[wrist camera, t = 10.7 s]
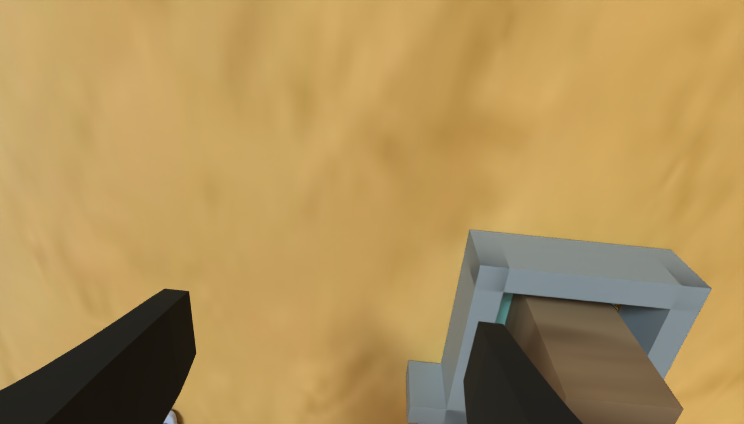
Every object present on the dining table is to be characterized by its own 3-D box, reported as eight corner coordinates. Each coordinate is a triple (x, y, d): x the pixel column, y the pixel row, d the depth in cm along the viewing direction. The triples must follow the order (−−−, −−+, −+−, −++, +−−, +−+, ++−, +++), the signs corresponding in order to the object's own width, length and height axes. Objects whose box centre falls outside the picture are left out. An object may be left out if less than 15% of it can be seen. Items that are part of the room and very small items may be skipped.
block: (576, 349, 23) (642, 481, 17) (499, 341, 23) (537, 470, 17) (600, 286, 22) (683, 409, 15) (517, 278, 22) (566, 397, 15)
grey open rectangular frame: (563, 486, 29) (580, 536, 26) (390, 468, 29) (389, 517, 26) (671, 250, 21) (711, 288, 18) (431, 225, 21) (436, 260, 18)
